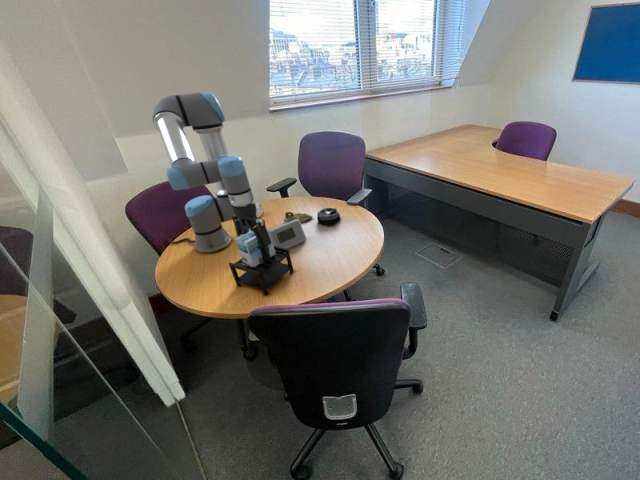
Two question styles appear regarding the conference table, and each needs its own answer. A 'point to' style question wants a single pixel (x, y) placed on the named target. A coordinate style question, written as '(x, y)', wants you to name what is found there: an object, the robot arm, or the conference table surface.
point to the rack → (263, 271)
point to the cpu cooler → (328, 216)
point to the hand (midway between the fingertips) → (259, 257)
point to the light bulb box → (252, 248)
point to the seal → (297, 217)
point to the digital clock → (288, 234)
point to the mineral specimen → (259, 210)
